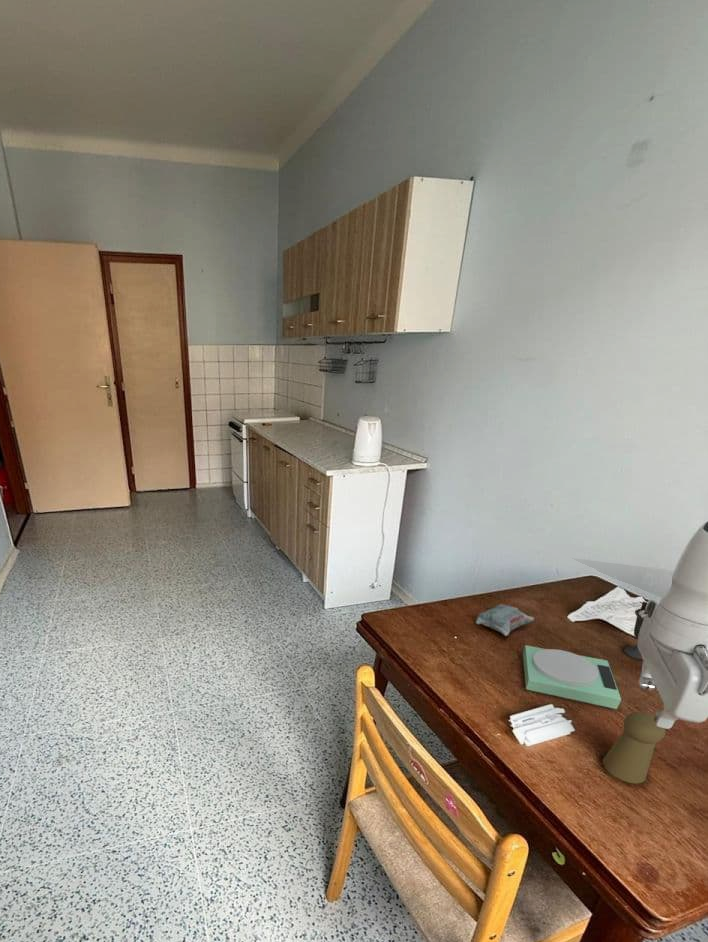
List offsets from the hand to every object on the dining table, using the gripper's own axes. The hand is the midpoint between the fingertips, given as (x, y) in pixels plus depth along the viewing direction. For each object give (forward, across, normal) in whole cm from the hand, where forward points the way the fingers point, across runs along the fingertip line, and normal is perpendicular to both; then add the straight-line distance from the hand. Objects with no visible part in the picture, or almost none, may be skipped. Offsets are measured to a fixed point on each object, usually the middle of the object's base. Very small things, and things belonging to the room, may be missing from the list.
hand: (652, 705), depth 73 cm
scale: (+14, +24, +6) cm, 28 cm away
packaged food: (+14, +42, +18) cm, 48 cm away
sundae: (+14, +41, -10) cm, 45 cm away
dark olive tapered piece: (+14, 0, 0) cm, 14 cm away
